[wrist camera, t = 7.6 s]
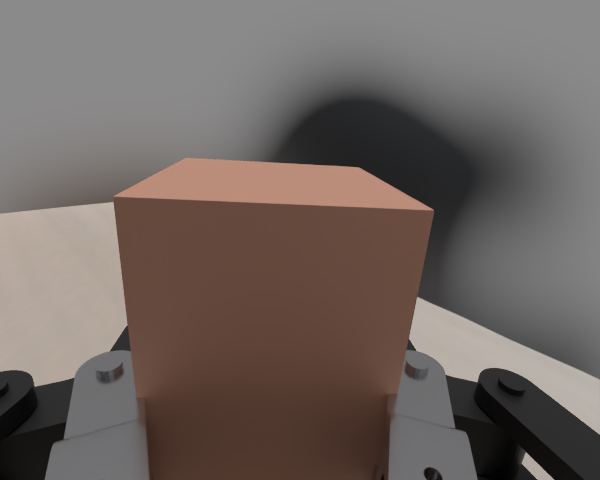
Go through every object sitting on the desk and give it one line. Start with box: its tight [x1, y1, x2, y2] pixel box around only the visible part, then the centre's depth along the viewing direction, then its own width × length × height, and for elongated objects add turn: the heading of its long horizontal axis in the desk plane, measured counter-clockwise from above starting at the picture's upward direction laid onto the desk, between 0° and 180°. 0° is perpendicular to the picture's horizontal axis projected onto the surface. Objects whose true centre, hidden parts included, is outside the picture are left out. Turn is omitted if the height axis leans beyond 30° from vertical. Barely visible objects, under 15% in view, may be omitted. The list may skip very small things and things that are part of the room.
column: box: [113, 158, 434, 480], centre depth 10 cm, size 5×5×12 cm
